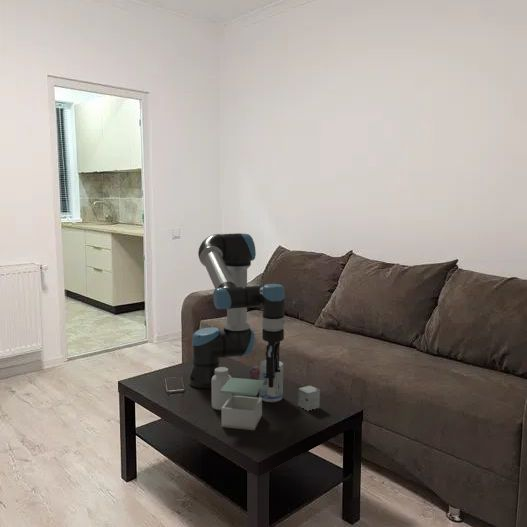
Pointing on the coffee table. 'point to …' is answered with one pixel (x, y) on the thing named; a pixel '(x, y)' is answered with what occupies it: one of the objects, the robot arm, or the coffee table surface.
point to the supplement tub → (262, 375)
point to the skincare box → (309, 398)
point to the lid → (244, 386)
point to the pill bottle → (219, 387)
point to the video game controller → (255, 373)
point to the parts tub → (241, 412)
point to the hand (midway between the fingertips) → (272, 392)
